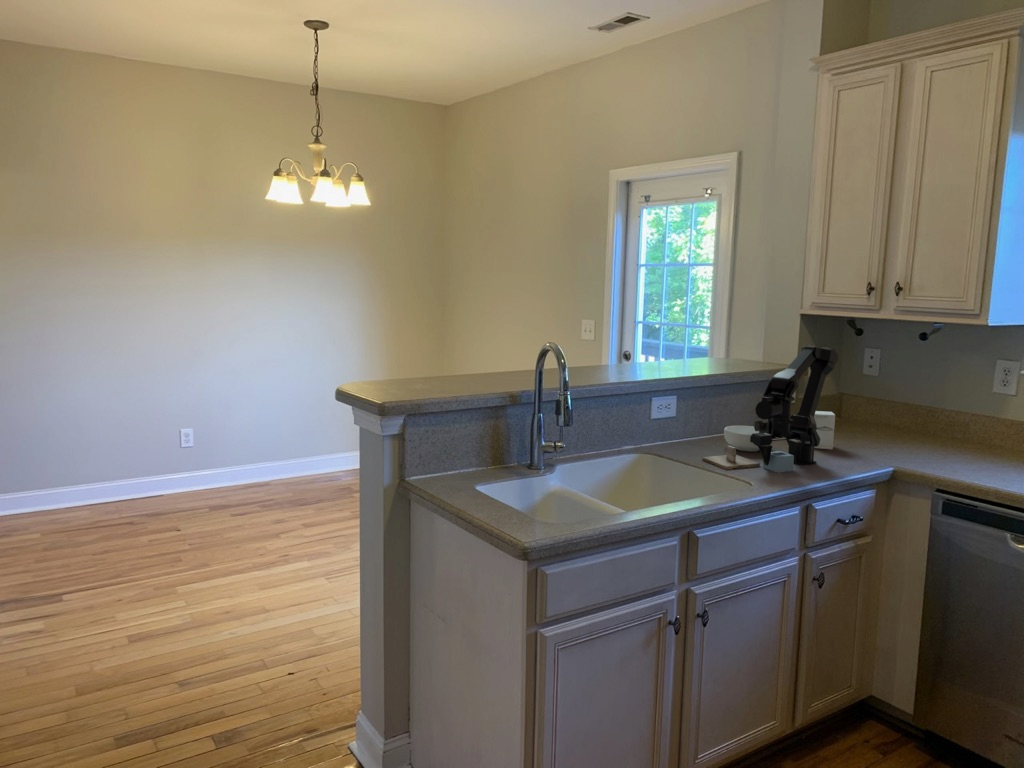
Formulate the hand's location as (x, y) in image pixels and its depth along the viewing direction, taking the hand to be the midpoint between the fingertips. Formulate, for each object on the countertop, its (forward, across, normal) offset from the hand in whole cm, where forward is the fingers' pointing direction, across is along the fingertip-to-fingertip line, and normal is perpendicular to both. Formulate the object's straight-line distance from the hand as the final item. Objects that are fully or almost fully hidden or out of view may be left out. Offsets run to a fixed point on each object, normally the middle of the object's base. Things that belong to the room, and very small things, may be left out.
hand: (778, 464), depth 240 cm
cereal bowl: (+2, -9, -27) cm, 29 cm away
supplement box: (+2, -36, -21) cm, 42 cm away
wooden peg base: (+2, +10, -12) cm, 15 cm away
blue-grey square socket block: (+2, 0, 0) cm, 2 cm away
